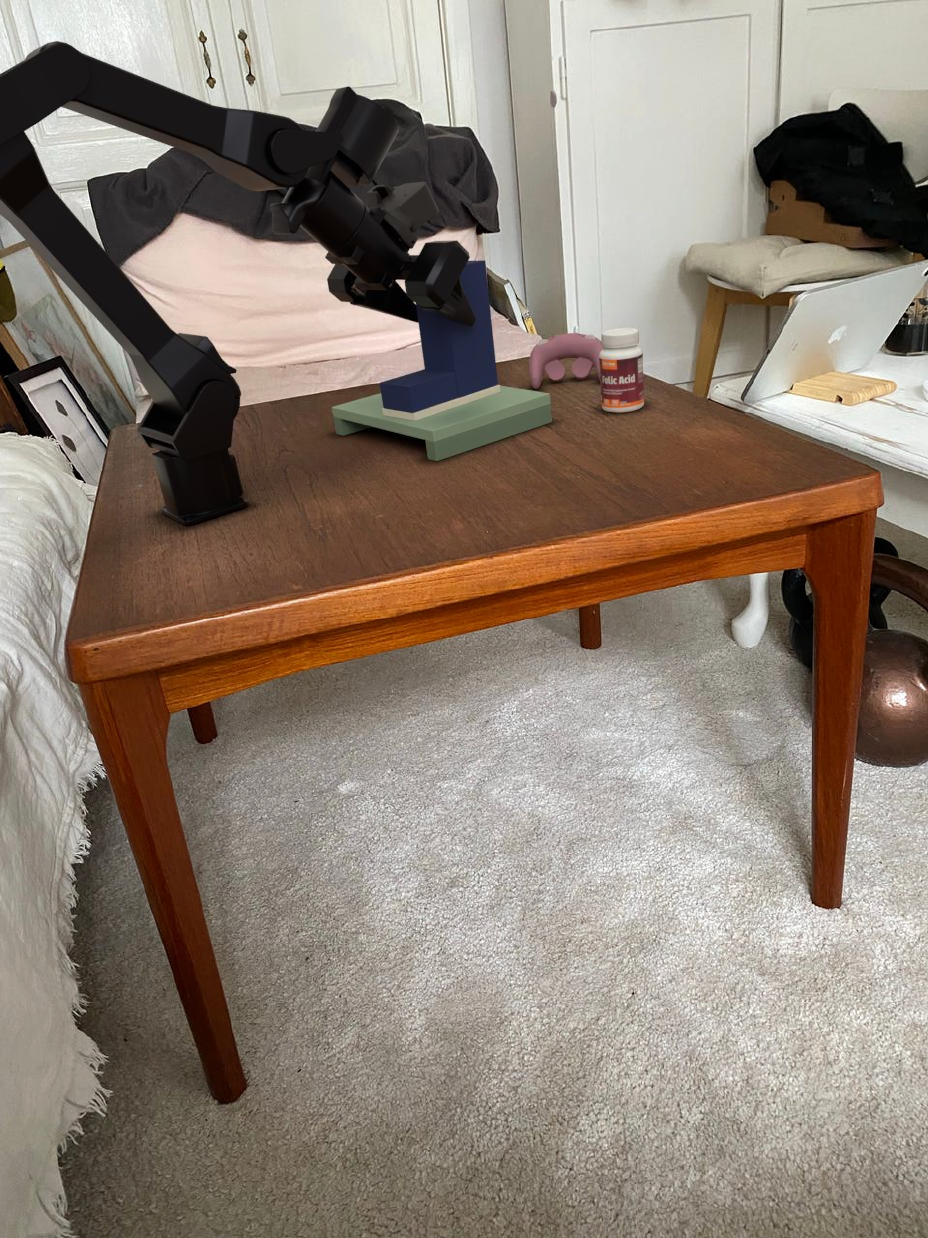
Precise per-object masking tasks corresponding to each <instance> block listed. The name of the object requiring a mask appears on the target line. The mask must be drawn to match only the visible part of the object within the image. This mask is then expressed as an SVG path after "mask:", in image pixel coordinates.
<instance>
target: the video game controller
mask: <svg viewBox="0 0 928 1238" xmlns="http://www.w3.org/2000/svg"><path fill="white" fill-rule="evenodd" d="M601 342H602V340H601V339H599V338H598V337H596V336H595V335H594V334H592V333H591V334H583V333H579V332H568V333H560V334H555V335H553V336H550V337H548V338H546V339H544V338H543V339H540V340H539V341H538V342H537V343H536V345H534V346H533V348H532V350H531V351H530V355H529V360H528V361H529V362H528V373H529V380H530V385H531V387H532V388H533V389H534V390H537V389H539V388H540V387H541V385H542V380H543V376H544V375H543V374H544V373H545V374H546V375H547V377H548V379H549V380H550V381H551V382H553V383H559V382H561V381H563V380H564V378H565V376H566V368H565V366H564V364H563V363H562V362H561V360H567V359H576V360H575V361H574V363H573V364H572V366H571V367H572V368H571V371H572V374H573V376H574V378H575V379H577V380H579V381H584V380H586V379H588V378H589V376H590V374H591V372H592V370H593V368H594V369H595V372H596V375H597V377H598V380H599V381H600V363H599V354H600V352H601V351H602V350H603V349H604V347H603V346H602V343H601Z"/></svg>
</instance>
